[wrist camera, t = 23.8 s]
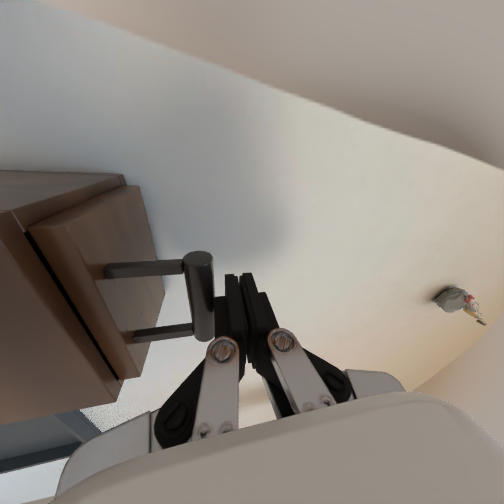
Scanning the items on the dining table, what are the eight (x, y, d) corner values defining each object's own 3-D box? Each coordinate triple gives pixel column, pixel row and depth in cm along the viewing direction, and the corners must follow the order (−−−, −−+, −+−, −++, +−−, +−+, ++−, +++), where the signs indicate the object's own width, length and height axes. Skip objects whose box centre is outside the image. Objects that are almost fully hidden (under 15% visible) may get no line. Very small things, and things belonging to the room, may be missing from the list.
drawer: (209, 187, 14) (210, 223, 7) (215, 288, 19) (218, 363, 12) (-125, 178, 10) (-763, 239, 3) (-4, 308, 15) (-167, 431, 9)
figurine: (426, 303, 32) (467, 332, 27) (442, 284, 30) (490, 312, 25) (445, 302, 33) (488, 330, 28) (463, 284, 31) (512, 310, 26)
